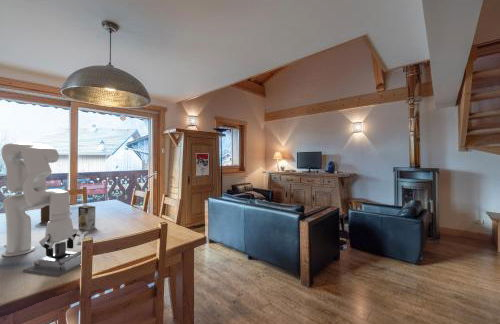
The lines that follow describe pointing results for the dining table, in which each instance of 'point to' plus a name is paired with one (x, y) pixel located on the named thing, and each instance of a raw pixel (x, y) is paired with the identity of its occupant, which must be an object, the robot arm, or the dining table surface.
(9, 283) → the dining table surface
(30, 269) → the charcoal mat
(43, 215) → the wooden container
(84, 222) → the coffee box
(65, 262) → the white grey box
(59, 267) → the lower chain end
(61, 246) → the dark grey block
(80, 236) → the adjustable wrench
